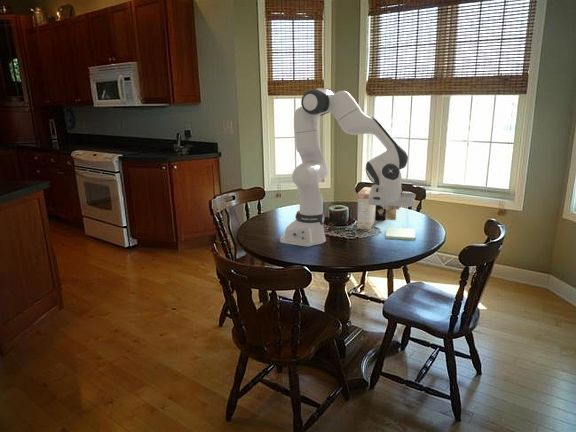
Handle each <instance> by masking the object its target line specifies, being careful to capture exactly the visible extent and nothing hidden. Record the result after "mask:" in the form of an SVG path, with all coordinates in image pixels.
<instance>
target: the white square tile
mask: <svg viewBox="0 0 576 432" xmlns="http://www.w3.org/2000/svg"><path fill="white" fill-rule="evenodd" d="M384 238H385V239H388V240H389V239H393V240H405V241H406V240H409V241H415V240H416V229H415V228H403V227H402V228H401V227H386V231H385V237H384Z"/></svg>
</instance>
